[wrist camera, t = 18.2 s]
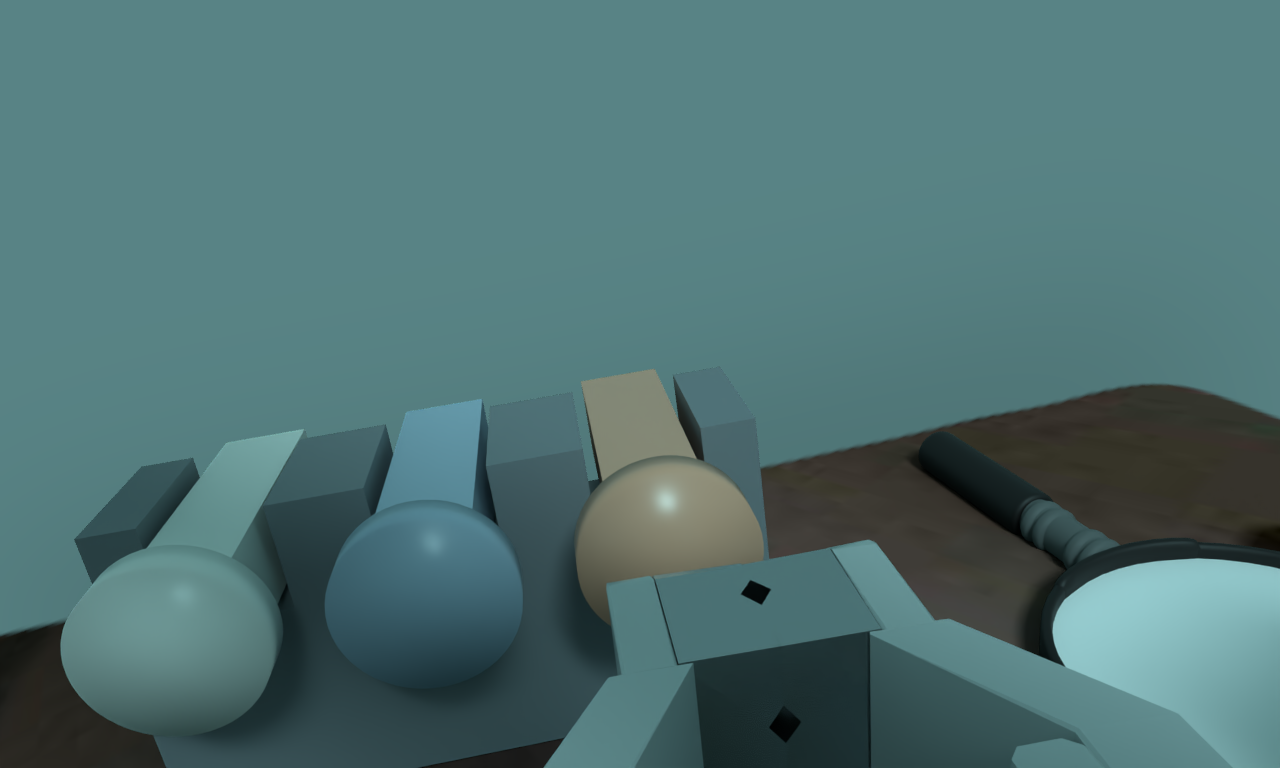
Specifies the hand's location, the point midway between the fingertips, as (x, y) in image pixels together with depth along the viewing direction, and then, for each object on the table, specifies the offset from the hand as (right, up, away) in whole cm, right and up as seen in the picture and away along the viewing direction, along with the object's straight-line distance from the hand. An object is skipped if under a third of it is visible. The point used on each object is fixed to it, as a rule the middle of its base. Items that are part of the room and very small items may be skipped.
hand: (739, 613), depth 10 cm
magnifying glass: (+17, -6, +24) cm, 30 cm away
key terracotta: (-1, -3, +20) cm, 20 cm away
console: (-6, -9, +22) cm, 25 cm away
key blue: (-7, -4, +19) cm, 21 cm away
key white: (-13, -5, +19) cm, 24 cm away
